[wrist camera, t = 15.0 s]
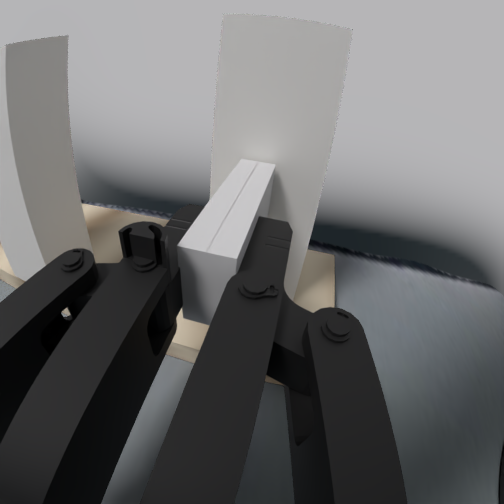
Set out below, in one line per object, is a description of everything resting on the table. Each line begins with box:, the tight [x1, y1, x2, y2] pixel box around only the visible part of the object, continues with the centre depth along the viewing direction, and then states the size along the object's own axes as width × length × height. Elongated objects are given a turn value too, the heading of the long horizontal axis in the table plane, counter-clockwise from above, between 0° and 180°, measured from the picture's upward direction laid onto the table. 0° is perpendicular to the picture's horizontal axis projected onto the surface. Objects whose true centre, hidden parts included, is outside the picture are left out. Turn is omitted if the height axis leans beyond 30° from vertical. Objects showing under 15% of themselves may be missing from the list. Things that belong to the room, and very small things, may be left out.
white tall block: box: [0, 36, 95, 281], centre depth 12 cm, size 5×4×14 cm
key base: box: [0, 204, 335, 385], centre depth 19 cm, size 36×10×2 cm, turn 77°
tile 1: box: [210, 14, 353, 301], centre depth 14 cm, size 5×4×14 cm
